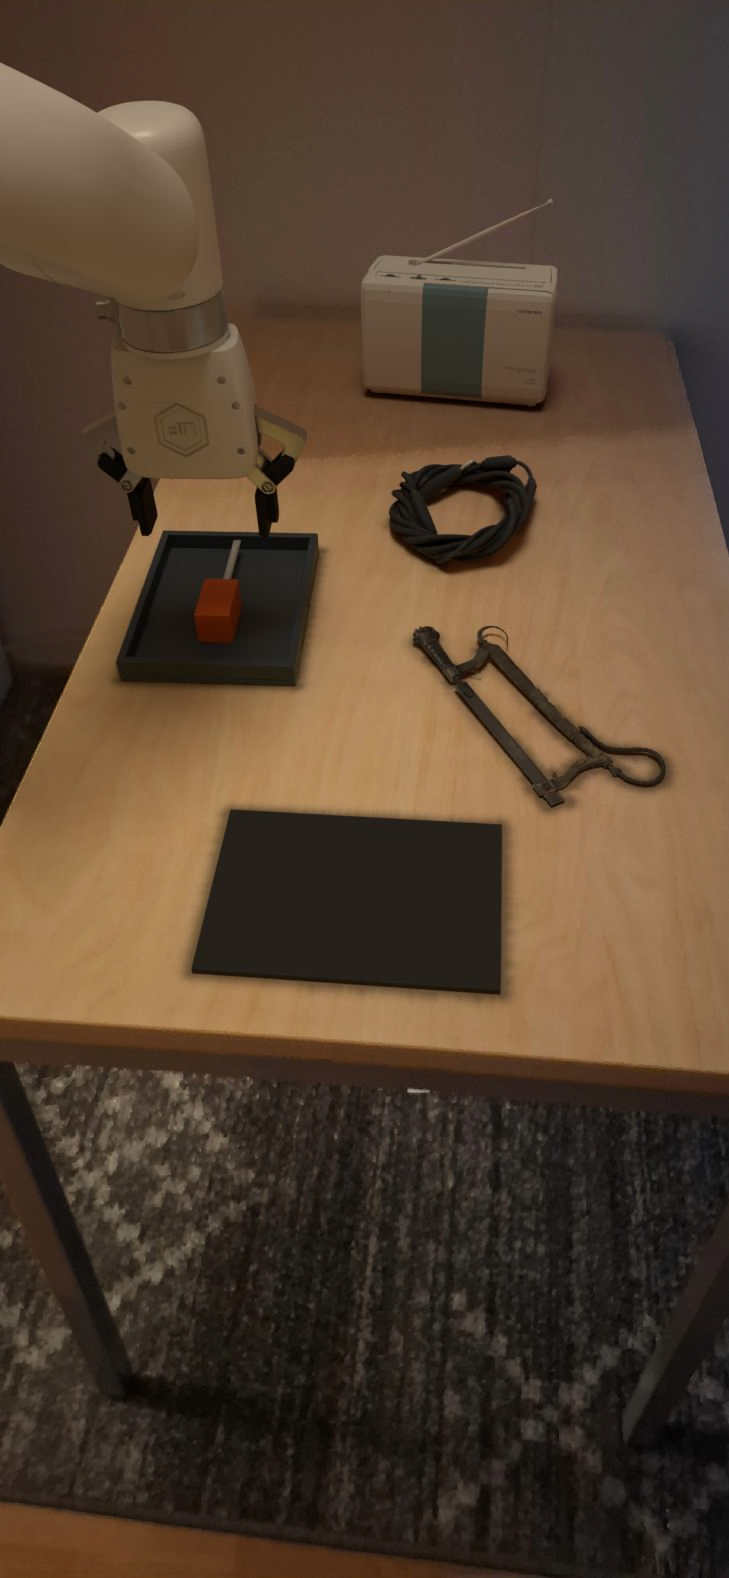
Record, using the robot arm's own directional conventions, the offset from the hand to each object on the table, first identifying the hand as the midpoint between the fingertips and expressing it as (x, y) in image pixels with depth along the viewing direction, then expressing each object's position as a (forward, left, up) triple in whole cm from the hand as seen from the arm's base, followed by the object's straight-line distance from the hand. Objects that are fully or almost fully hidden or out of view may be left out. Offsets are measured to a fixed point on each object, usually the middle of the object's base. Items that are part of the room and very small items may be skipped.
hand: (208, 527), depth 85 cm
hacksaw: (+20, -20, -11) cm, 30 cm away
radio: (+38, +31, -11) cm, 50 cm away
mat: (-1, -32, -10) cm, 34 cm away
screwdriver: (+2, +3, -10) cm, 10 cm away
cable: (+26, +6, -11) cm, 29 cm away
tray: (+1, +2, -10) cm, 11 cm away
